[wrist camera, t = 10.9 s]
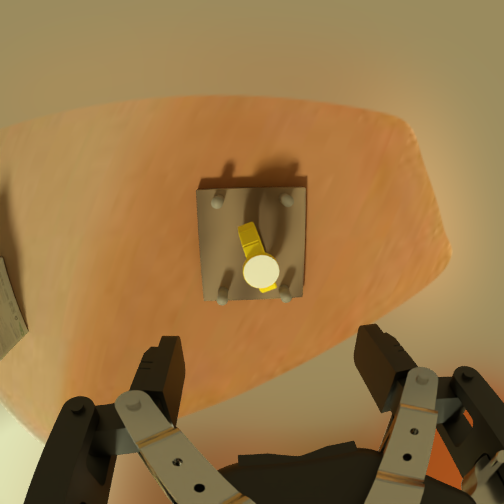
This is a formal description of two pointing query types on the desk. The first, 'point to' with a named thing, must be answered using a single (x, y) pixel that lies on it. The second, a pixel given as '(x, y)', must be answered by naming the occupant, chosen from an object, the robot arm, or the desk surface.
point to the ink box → (9, 315)
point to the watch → (257, 260)
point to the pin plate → (269, 230)
